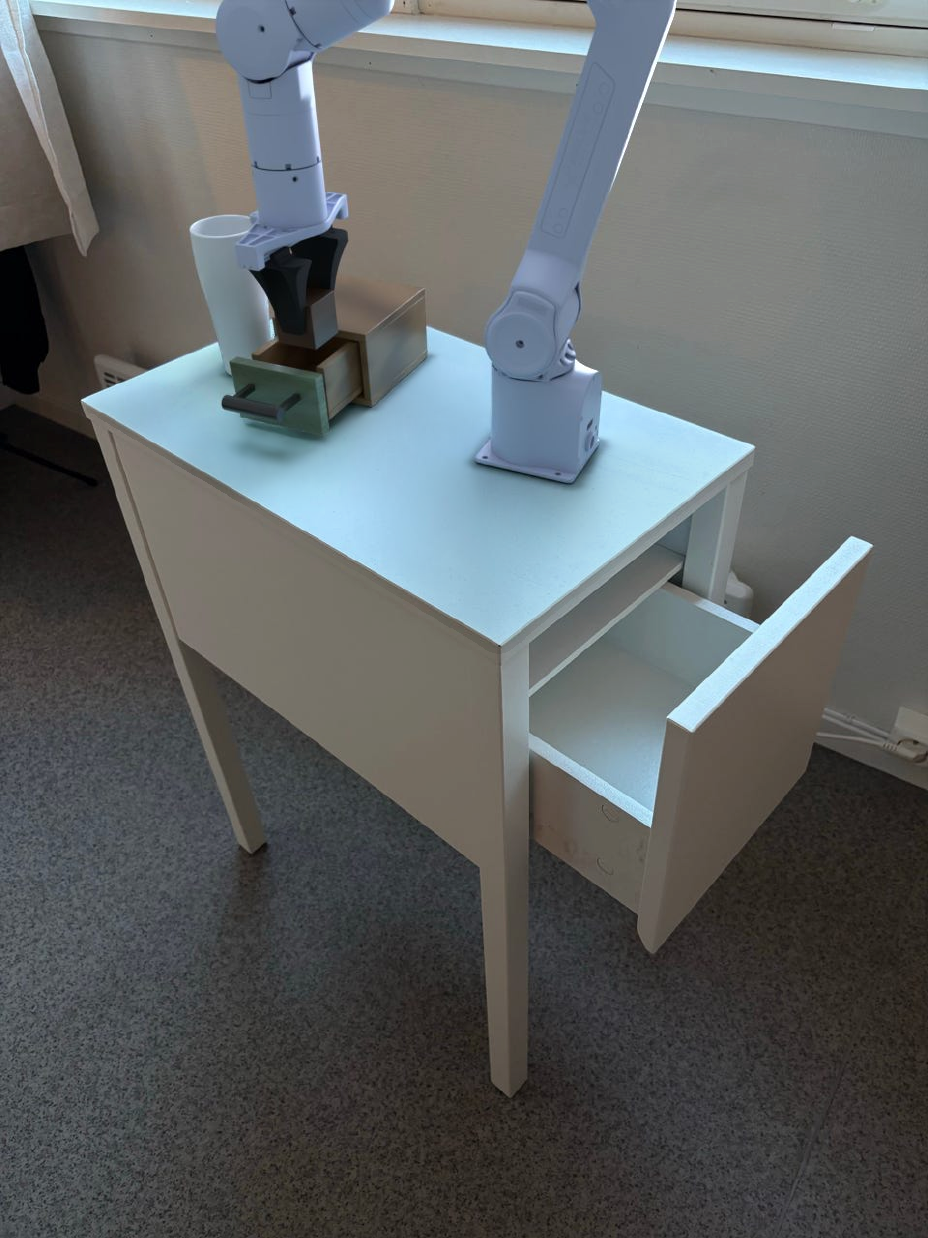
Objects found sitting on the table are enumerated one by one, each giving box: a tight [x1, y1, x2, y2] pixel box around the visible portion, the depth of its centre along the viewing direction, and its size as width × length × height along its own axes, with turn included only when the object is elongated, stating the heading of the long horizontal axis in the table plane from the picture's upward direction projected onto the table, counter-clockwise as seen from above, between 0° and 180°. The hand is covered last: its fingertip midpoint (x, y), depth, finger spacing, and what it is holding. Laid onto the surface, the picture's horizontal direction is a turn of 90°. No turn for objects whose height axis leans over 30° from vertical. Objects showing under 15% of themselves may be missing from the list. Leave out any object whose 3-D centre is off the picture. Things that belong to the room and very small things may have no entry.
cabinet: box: [271, 273, 429, 408], centre depth 95 cm, size 13×11×8 cm
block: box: [273, 286, 338, 350], centre depth 83 cm, size 4×4×4 cm
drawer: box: [221, 335, 364, 437], centre depth 88 cm, size 16×9×6 cm, turn 155°
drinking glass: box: [188, 214, 272, 377], centre depth 94 cm, size 7×7×15 cm
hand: (307, 322), depth 83 cm, fingers closed on block, 4 cm apart
